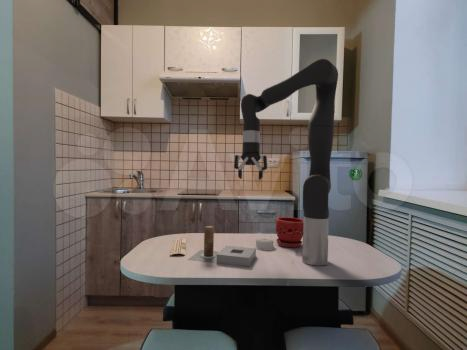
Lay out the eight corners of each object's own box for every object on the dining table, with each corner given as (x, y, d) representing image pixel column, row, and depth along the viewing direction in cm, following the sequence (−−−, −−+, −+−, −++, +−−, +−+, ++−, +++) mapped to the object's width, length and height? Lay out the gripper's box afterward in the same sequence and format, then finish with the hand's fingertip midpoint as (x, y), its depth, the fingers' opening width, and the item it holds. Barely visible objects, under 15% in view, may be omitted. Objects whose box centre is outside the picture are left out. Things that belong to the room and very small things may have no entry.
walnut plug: (214, 254, 114) (215, 226, 113) (211, 257, 110) (211, 228, 110) (205, 253, 115) (206, 225, 114) (202, 256, 111) (203, 227, 111)
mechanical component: (258, 245, 134) (249, 250, 125) (258, 235, 133) (249, 240, 125) (279, 248, 129) (271, 254, 120) (279, 238, 129) (271, 244, 120)
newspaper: (173, 242, 138) (173, 238, 137) (188, 241, 139) (188, 238, 138) (169, 258, 114) (169, 253, 114) (188, 257, 115) (188, 253, 115)
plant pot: (298, 250, 126) (299, 223, 125) (270, 245, 133) (271, 219, 132) (308, 244, 137) (308, 218, 137) (281, 239, 144) (282, 215, 143)
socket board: (255, 258, 114) (256, 248, 114) (248, 269, 102) (249, 258, 102) (200, 252, 120) (201, 242, 120) (187, 262, 108) (187, 251, 108)
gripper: (233, 141, 125) (232, 178, 126) (266, 141, 122) (265, 180, 122) (237, 142, 133) (236, 178, 133) (268, 142, 129) (267, 179, 129)
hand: (250, 179), depth 128 cm, fingers open, 8 cm apart
